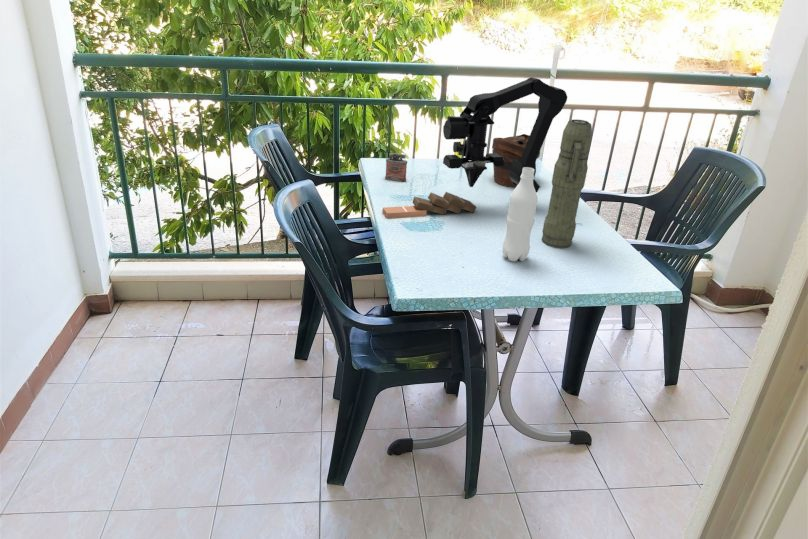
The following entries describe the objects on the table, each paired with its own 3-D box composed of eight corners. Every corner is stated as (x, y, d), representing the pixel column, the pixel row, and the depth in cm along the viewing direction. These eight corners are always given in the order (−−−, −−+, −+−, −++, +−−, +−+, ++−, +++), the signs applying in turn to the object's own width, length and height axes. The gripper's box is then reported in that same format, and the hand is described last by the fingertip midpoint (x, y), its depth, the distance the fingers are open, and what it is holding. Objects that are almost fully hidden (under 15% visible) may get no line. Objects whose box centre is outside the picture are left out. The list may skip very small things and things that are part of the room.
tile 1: (470, 201, 186) (446, 191, 181) (476, 207, 182) (452, 197, 177) (467, 206, 187) (443, 197, 182) (473, 212, 183) (448, 203, 178)
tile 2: (456, 202, 184) (430, 192, 180) (461, 208, 180) (435, 197, 176) (453, 208, 185) (427, 197, 181) (458, 214, 181) (432, 203, 176)
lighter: (383, 179, 208) (384, 153, 204) (386, 177, 211) (387, 150, 206) (404, 182, 206) (406, 155, 202) (407, 180, 209) (408, 153, 205)
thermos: (567, 234, 170) (591, 117, 154) (575, 251, 160) (602, 127, 144) (538, 232, 170) (558, 115, 155) (544, 248, 160) (567, 125, 144)
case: (533, 175, 222) (540, 130, 214) (537, 192, 205) (544, 143, 196) (488, 172, 224) (493, 127, 216) (487, 188, 207) (493, 139, 198)
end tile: (421, 205, 181) (382, 207, 177) (426, 210, 177) (387, 213, 173) (421, 210, 182) (382, 213, 178) (426, 216, 178) (386, 218, 174)
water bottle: (509, 249, 158) (522, 163, 147) (532, 257, 154) (547, 169, 143) (496, 257, 153) (509, 168, 142) (519, 266, 149) (534, 175, 138)
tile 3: (442, 203, 183) (414, 196, 180) (447, 208, 179) (418, 201, 176) (440, 209, 184) (412, 202, 181) (444, 214, 180) (415, 208, 176)
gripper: (491, 131, 183) (486, 177, 190) (438, 132, 178) (434, 180, 185) (508, 140, 174) (501, 188, 181) (452, 141, 168) (447, 191, 175)
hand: (470, 186), depth 181 cm, fingers closed
